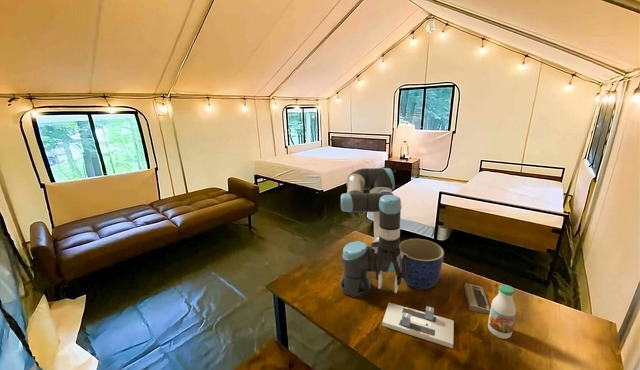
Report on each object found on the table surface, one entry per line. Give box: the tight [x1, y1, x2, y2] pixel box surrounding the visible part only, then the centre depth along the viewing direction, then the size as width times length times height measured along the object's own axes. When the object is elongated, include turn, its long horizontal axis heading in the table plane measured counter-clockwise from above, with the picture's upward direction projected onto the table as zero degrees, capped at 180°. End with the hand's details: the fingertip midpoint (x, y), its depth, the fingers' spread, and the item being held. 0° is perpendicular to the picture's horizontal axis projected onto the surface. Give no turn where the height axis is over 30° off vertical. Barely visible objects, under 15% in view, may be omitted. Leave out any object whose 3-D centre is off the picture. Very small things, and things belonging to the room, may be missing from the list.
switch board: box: [381, 302, 455, 349], centre depth 106 cm, size 26×12×2 cm, turn 63°
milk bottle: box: [487, 284, 517, 340], centre depth 99 cm, size 8×8×20 cm
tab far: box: [425, 305, 435, 320], centre depth 106 cm, size 3×2×4 cm
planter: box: [399, 238, 445, 290], centre depth 129 cm, size 21×21×19 cm
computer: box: [463, 282, 491, 315], centre depth 118 cm, size 16×8×3 cm, turn 160°
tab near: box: [402, 312, 411, 327], centre depth 104 cm, size 3×2×4 cm
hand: (388, 288), depth 104 cm, fingers open, 6 cm apart
